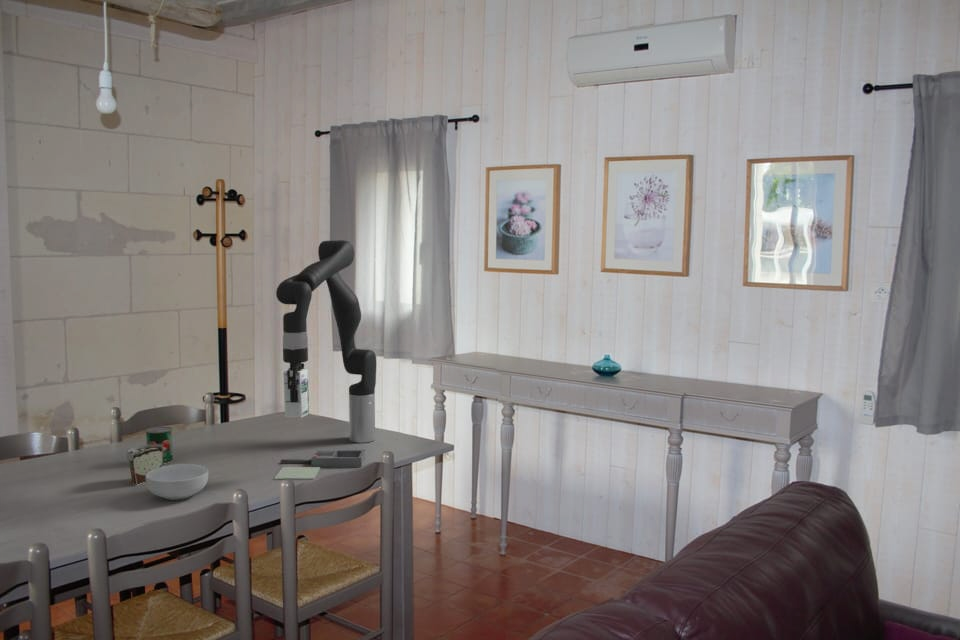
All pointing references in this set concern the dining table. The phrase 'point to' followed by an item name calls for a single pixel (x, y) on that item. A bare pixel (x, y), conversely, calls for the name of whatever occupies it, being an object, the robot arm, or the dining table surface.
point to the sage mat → (297, 472)
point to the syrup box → (302, 405)
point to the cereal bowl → (177, 480)
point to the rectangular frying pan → (333, 458)
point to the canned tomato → (161, 440)
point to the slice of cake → (144, 461)
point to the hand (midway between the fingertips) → (296, 399)
